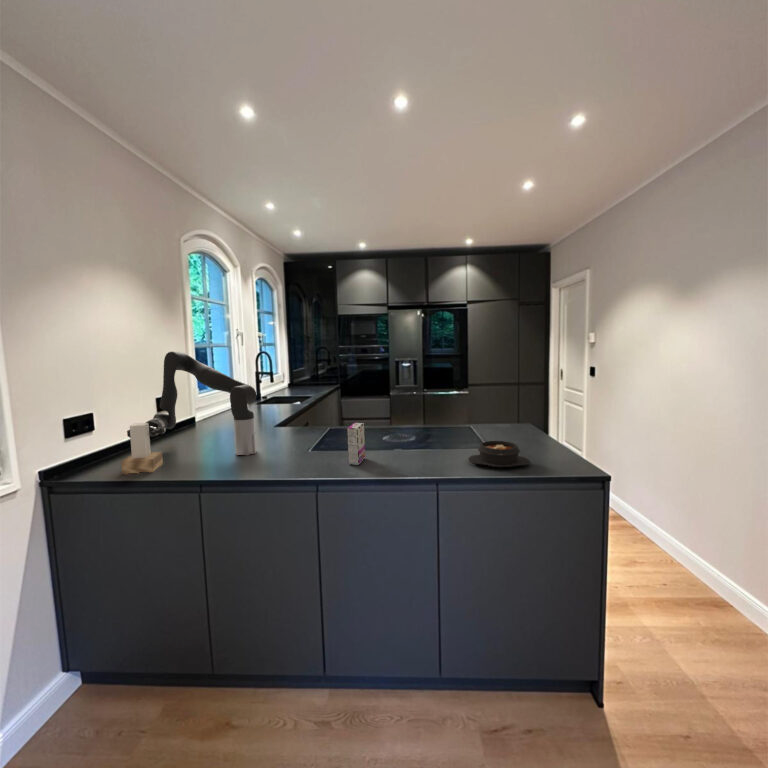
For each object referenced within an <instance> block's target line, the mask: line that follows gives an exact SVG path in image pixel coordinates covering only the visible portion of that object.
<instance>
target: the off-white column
mask: <svg viewBox="0 0 768 768" xmlns="http://www.w3.org/2000/svg"><path fill="white" fill-rule="evenodd" d="M129 430H130V438H129V439H130V449H131V454H132V458H146V457H148V456H149V455H150V454H151V452H152V451H151V440H150V438H151V437H150V436H149V423H146V422H139V423H137V422H136V423H133V424H131V425H129Z"/></svg>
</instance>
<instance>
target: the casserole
mask: <svg viewBox="0 0 768 768" xmlns="http://www.w3.org/2000/svg"><path fill="white" fill-rule="evenodd" d="M477 450H478V451H479V454H475V455H473V454H472V455H470V456H469V457H468V459H467V460H468V461H469V462H470V463H472V464H477V465H483V466H487V465H488V466H487V467H490V466H494V467H508V468H513V467H518V466H527V465H529V464H531V461H530V459H528V458H527V457H525V456H522V455H521V456H520V455H519V453H520V452H521V451H520V450H521V449H519V447H518V444H516V443H514V442H510V441H504V440H489V441H483V442H481V443H480V445H479V447H478V448H477ZM494 467H493V468H494Z"/></svg>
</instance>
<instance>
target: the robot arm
mask: <svg viewBox="0 0 768 768" xmlns="http://www.w3.org/2000/svg"><path fill="white" fill-rule="evenodd" d="M177 371H183V372H186V373H188V374H192V375H193V376H194V377H195V378H196V380H197V381H198V382H199V383H200V384H202V385H204V386H206V387H208V388H209V389H212V390H215V391H221V392H224V393H229V400H230V403H229V404H230V410H231V414H232V416H233V428H234V430H233V431H234V445H235V455H236V456H238V455H246V456H250V454H252V455H255V454H256V453H257V438H256V431H255V430H256V429H255V415H254V412H253V411H251V410H249V407H248V404H251V403H253V402H255V400H256V399H257V395H258V394H257V391H256V389H255V388H254V387H253V386H251V385H250V384H246V383H244V382H241V381H239V380H237V379H234V378H232V377H231V376H228V375H226V374H224V373H223V372H221V371H219V370H217V369H215V368H213V367H211V366H209V365H206V364H204V363H202V362H200V361H198V360H197V359H195V358H193V357H192V356H191V355H189V354H188V353H185V352H182V351H181V352H180V351H169V352H167V353H166V354H165V356H164V359H163V379H162V380H163V381H162V383H163V385H162V392H161V393H162V394H161V397H160V401H159V408H160V409H161V410H163V411H165V412H167V413H161V412H160V413H159V412H158V413H155V414H154V415H153V418H152V419H150V420H148V421H146V422H145V423H149V436H150V438H154V437H156V436H158V435H163V434H165V433H166V431H167V430H168V429H169V430H172V429H173V428H175V426H176V424H177V417H176V404H177V399H178V388H177V386H176V382H175V375H176V372H177ZM166 429H167V430H166ZM126 435H127V437H128V438H129V439H131V438H130V429H127V431H126Z"/></svg>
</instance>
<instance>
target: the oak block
mask: <svg viewBox="0 0 768 768" xmlns="http://www.w3.org/2000/svg"><path fill="white" fill-rule="evenodd" d="M163 459H164V458H163V451H151V454H150V455H149V456H148V457H146V458H132V453H131V454H130V455H128V456H127V457H126V458H124V459H122V460H121V461H120V465H121V472H122V473H121V474H125V475H129V474H128V473H137V474H140V473H139V472H149V473H155V472H156V471H157V470H158V469H159V468H160V467H161V466H163V465H164V461H163ZM159 466H160V467H159ZM158 467H159V468H158ZM157 468H158V469H157ZM156 469H157V470H156ZM155 470H156V471H155ZM154 471H155V472H154Z"/></svg>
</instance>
